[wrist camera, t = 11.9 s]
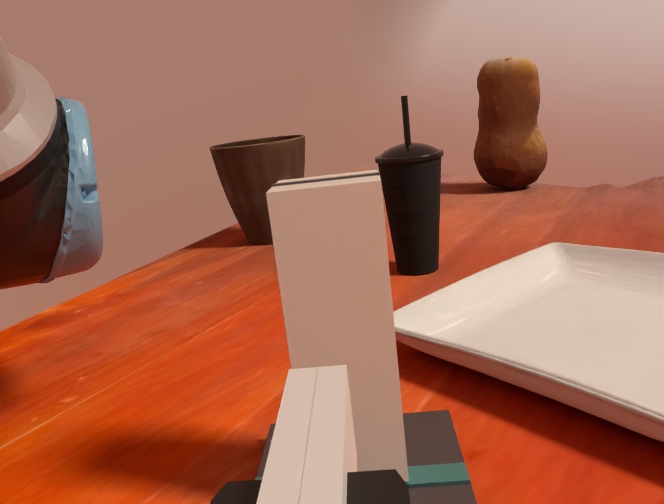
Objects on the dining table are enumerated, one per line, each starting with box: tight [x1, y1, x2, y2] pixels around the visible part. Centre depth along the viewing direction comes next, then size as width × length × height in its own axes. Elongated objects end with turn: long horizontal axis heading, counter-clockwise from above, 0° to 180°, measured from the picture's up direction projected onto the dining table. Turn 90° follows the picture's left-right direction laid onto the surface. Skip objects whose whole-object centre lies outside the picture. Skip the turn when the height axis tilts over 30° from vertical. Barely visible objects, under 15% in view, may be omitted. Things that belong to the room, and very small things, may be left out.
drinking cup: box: [375, 96, 443, 275], centre depth 64 cm, size 8×8×20 cm
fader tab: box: [266, 170, 409, 482], centre depth 28 cm, size 4×5×15 cm
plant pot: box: [210, 135, 305, 245], centre depth 89 cm, size 15×15×16 cm
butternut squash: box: [474, 57, 547, 190], centre depth 108 cm, size 14×13×25 cm
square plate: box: [393, 243, 664, 442], centre depth 42 cm, size 27×27×4 cm
